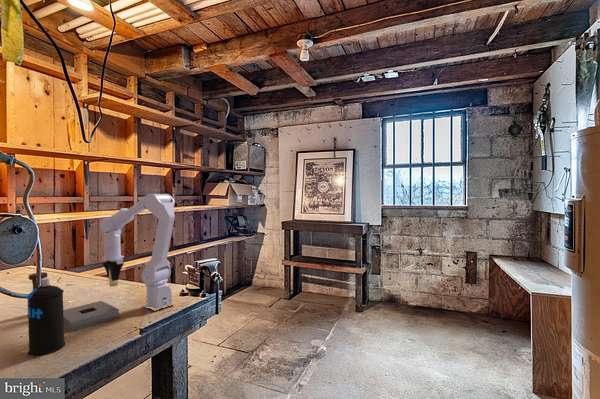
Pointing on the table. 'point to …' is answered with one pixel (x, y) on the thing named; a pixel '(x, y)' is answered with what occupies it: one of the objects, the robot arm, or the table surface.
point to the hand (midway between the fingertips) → (113, 279)
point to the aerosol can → (45, 319)
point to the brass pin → (112, 283)
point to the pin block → (89, 315)
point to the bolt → (34, 276)
